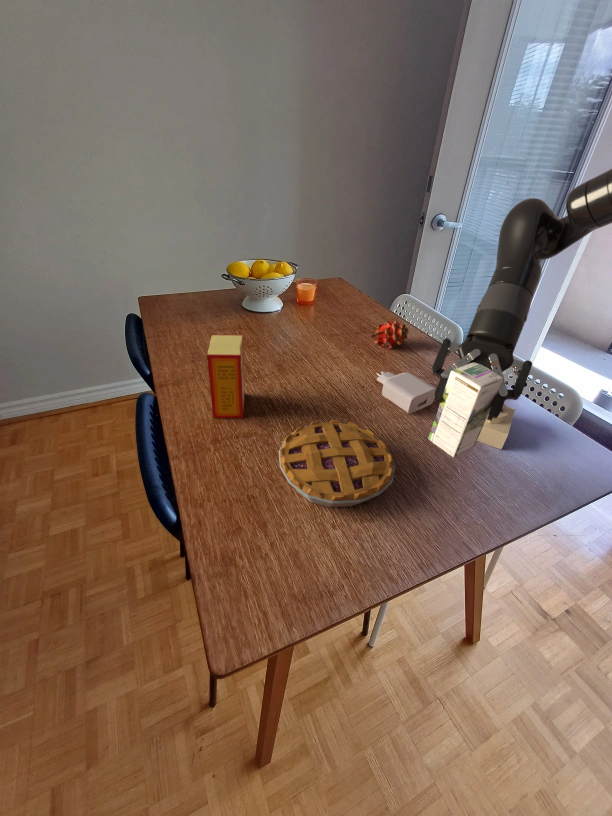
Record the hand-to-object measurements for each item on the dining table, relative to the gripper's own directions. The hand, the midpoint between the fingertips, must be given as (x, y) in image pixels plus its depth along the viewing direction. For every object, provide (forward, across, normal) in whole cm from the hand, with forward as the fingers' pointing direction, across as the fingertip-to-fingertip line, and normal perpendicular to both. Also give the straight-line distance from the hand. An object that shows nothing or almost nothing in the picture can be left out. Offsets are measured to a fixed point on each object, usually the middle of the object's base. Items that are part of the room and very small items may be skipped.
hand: (463, 410), depth 63 cm
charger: (-6, +17, -32) cm, 37 cm away
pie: (+17, +18, -9) cm, 27 cm away
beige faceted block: (-5, -4, -31) cm, 31 cm away
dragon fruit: (-23, +29, -50) cm, 62 cm away
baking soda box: (+14, +48, -13) cm, 51 cm away
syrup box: (+5, 0, -7) cm, 8 cm away
